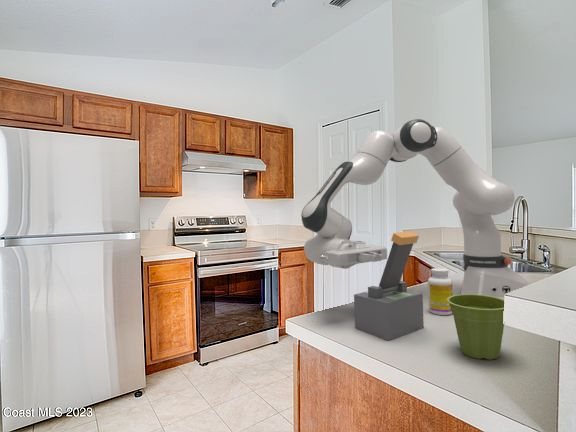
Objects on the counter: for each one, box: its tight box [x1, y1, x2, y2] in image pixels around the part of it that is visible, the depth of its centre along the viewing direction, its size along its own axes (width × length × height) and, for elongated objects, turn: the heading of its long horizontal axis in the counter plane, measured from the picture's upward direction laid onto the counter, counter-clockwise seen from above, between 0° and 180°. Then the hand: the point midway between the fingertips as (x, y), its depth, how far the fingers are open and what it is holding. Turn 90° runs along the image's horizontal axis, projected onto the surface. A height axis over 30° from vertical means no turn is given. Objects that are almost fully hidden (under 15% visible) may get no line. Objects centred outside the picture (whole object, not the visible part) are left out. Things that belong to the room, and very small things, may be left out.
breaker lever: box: [378, 231, 420, 294], centre depth 84 cm, size 3×7×17 cm, turn 124°
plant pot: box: [447, 293, 505, 360], centre depth 70 cm, size 12×12×11 cm
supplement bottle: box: [427, 267, 454, 316], centre depth 97 cm, size 7×7×13 cm
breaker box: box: [353, 280, 425, 342], centre depth 86 cm, size 11×14×12 cm
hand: (378, 258), depth 88 cm, fingers closed
